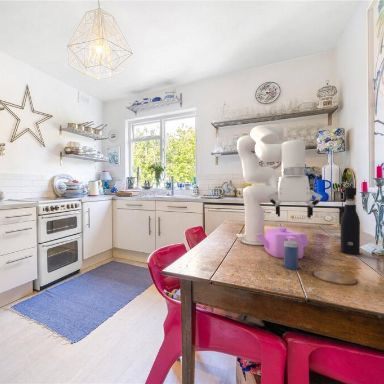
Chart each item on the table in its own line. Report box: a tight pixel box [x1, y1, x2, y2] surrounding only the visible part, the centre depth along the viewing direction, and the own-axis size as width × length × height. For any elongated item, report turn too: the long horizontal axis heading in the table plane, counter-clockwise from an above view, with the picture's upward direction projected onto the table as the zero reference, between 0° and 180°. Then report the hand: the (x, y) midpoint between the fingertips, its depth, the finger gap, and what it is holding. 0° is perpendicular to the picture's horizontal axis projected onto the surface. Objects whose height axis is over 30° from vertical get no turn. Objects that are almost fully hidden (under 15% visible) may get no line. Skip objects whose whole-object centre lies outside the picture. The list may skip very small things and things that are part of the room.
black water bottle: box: [340, 187, 361, 256], centre depth 108 cm, size 6×6×30 cm
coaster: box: [313, 270, 357, 286], centre depth 81 cm, size 11×11×1 cm
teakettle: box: [257, 226, 309, 260], centre depth 109 cm, size 17×17×12 cm
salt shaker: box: [283, 241, 299, 270], centre depth 91 cm, size 5×5×10 cm
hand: (293, 216), depth 91 cm, fingers open, 9 cm apart
